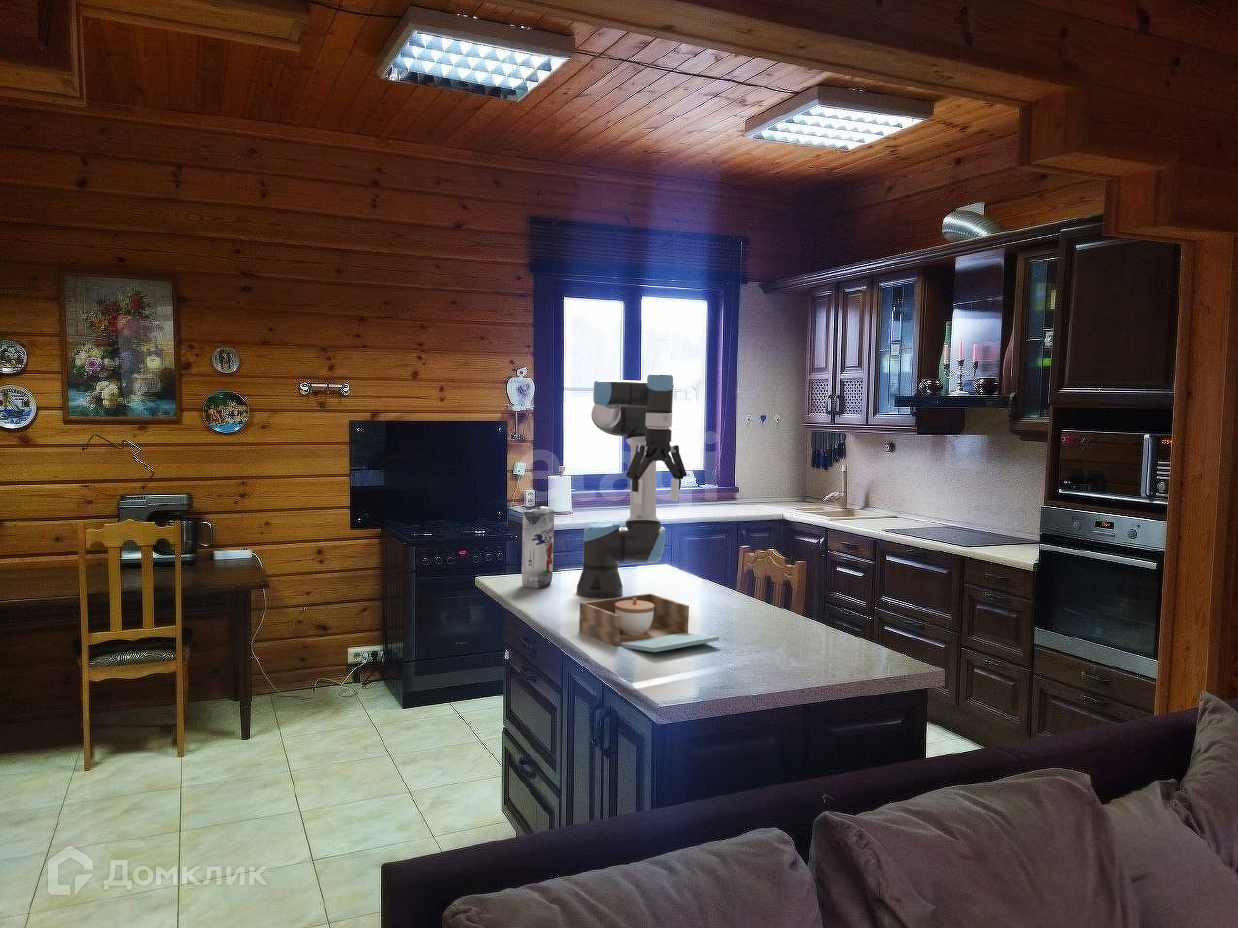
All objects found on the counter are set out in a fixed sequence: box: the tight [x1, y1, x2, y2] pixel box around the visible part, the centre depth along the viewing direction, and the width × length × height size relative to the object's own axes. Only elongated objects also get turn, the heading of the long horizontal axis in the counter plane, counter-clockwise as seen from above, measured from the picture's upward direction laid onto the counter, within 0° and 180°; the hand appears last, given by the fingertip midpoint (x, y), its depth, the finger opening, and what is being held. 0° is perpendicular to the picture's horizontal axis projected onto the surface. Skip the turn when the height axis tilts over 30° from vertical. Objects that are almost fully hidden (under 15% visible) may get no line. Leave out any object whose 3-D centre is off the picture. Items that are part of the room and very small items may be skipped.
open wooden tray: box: [578, 593, 690, 647], centre depth 242 cm, size 17×24×9 cm
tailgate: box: [619, 632, 720, 653], centre depth 230 cm, size 1×21×15 cm
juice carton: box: [521, 506, 555, 589], centre depth 303 cm, size 9×10×27 cm
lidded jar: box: [615, 598, 655, 635], centre depth 242 cm, size 11×11×9 cm
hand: (656, 502), depth 257 cm, fingers open, 13 cm apart
